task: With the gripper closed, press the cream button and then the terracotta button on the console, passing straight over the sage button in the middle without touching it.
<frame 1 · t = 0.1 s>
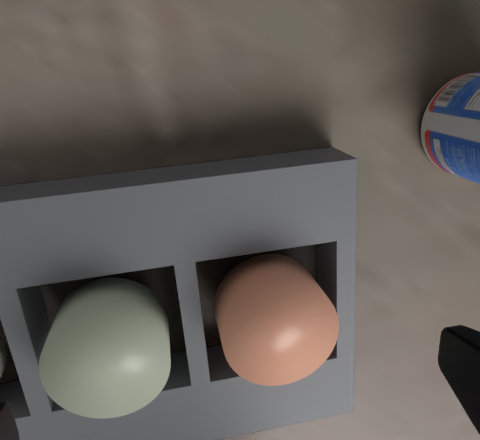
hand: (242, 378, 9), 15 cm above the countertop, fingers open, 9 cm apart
console: (115, 308, 24), on the countertop
pill bottle: (460, 122, 24), on the countertop
button sage: (110, 346, 21), point 3 cm above the countertop, slide at 0.0 cm
button terracotta: (273, 318, 22), point 3 cm above the countertop, slide at 0.0 cm
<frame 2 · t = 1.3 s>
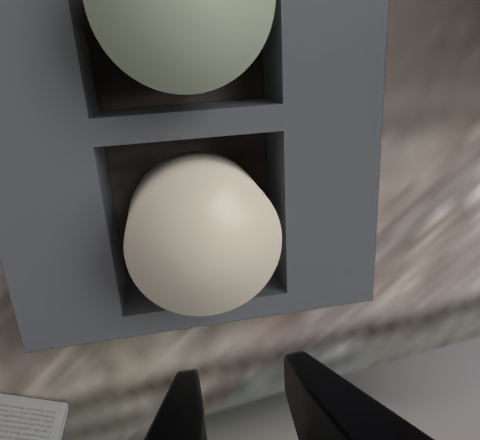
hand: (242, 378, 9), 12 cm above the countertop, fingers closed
console: (175, 12, 17), on the countertop
button sage: (179, 1, 14), point 3 cm above the countertop, slide at 0.0 cm
button cream: (200, 231, 17), point 3 cm above the countertop, slide at 0.0 cm
skincare box: (3, 422, 22), on the countertop
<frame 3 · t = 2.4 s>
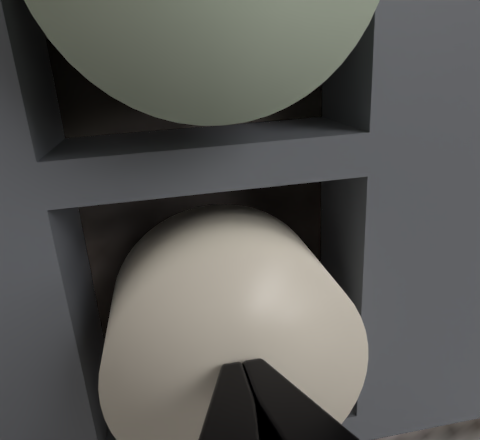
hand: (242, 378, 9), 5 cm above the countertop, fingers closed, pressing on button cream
button cream: (228, 335, 11), point 3 cm above the countertop, slide at -0.2 cm, touching gripper
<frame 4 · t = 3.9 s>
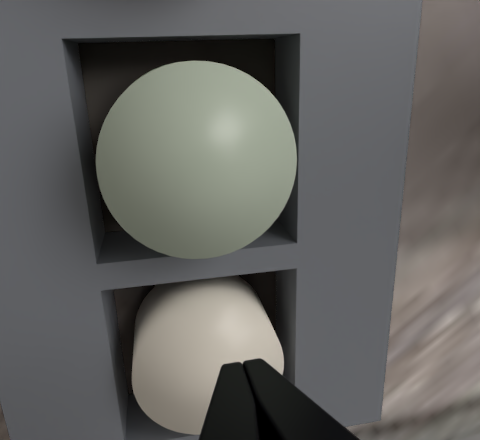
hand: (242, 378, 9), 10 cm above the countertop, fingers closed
console: (186, 138, 17), on the countertop
button sage: (195, 156, 14), point 3 cm above the countertop, slide at 0.0 cm
button cream: (205, 348, 18), point 2 cm above the countertop, slide at -1.2 cm
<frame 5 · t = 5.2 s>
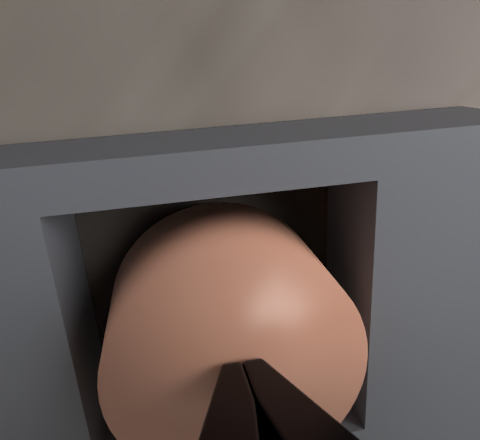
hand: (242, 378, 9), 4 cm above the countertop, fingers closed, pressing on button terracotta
button terracotta: (227, 334, 11), point 3 cm above the countertop, slide at -0.7 cm, touching gripper
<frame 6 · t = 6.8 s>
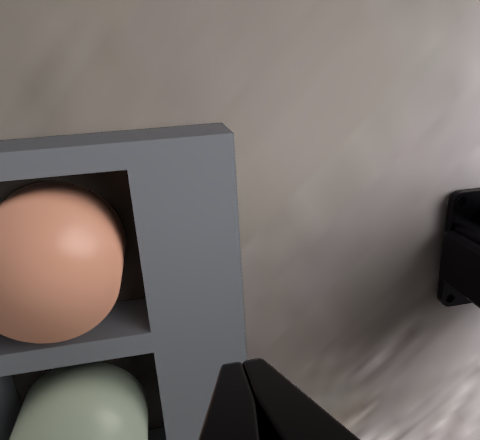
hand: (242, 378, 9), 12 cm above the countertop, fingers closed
console: (91, 385, 22), on the countertop
button sage: (81, 438, 19), point 3 cm above the countertop, slide at 0.0 cm
button terracotta: (50, 259, 17), point 2 cm above the countertop, slide at -1.2 cm
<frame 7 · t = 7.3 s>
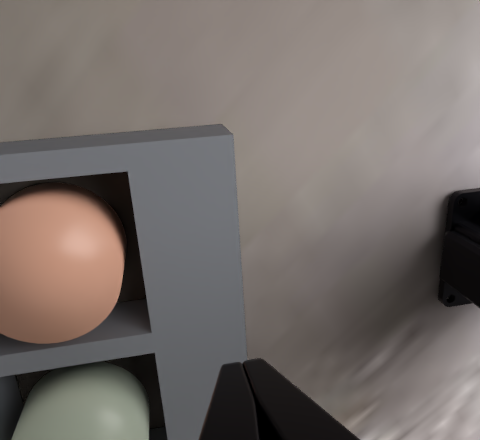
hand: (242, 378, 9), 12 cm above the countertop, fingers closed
console: (93, 384, 22), on the countertop
button sage: (83, 437, 19), point 3 cm above the countertop, slide at 0.0 cm
button terracotta: (52, 260, 18), point 2 cm above the countertop, slide at -1.2 cm
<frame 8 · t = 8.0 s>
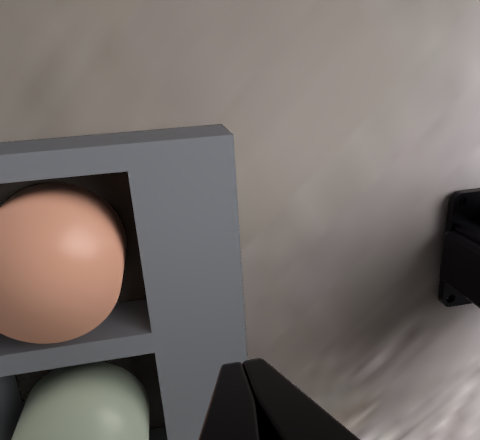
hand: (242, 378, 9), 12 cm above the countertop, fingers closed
console: (93, 384, 22), on the countertop
button sage: (83, 437, 19), point 3 cm above the countertop, slide at 0.0 cm
button terracotta: (52, 260, 18), point 2 cm above the countertop, slide at -1.2 cm
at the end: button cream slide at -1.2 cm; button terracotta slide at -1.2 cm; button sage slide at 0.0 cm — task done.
